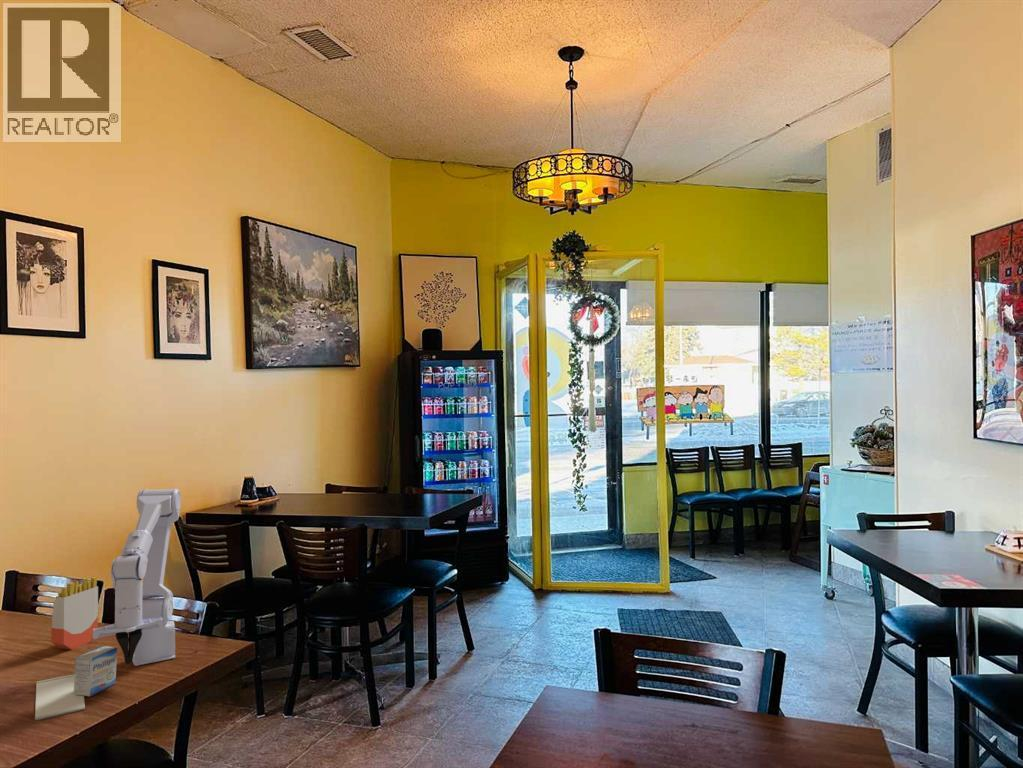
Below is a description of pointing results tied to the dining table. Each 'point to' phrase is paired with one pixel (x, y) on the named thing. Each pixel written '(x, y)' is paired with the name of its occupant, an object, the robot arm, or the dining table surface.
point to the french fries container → (75, 614)
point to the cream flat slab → (57, 697)
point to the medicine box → (95, 671)
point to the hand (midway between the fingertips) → (128, 662)
